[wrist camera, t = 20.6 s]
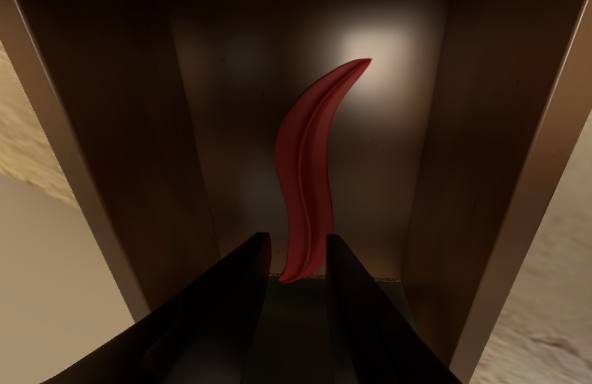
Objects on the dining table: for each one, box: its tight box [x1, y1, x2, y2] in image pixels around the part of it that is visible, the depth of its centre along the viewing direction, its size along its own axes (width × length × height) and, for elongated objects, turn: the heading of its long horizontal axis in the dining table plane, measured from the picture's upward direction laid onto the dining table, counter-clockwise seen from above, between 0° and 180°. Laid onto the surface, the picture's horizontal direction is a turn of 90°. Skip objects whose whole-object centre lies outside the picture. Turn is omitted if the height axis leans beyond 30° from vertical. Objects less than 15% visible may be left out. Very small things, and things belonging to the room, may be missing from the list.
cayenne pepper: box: [274, 58, 373, 283], centre depth 11 cm, size 12×5×2 cm, turn 157°
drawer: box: [0, 0, 592, 384], centre depth 10 cm, size 23×13×7 cm, turn 2°
